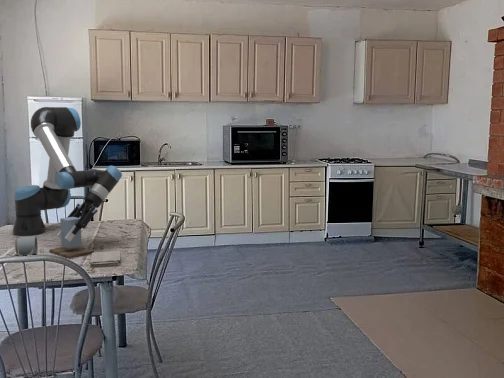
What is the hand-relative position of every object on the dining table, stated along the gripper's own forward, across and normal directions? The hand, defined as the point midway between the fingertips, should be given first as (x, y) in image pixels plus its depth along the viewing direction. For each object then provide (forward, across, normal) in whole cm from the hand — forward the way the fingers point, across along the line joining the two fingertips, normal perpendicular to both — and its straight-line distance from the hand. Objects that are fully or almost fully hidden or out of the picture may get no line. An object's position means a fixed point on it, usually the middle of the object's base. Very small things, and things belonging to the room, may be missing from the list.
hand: (63, 238), depth 222 cm
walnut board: (+2, 0, -7) cm, 8 cm away
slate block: (0, 0, -5) cm, 5 cm away
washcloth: (+1, -22, -10) cm, 24 cm away
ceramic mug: (+13, +11, +3) cm, 17 cm away
